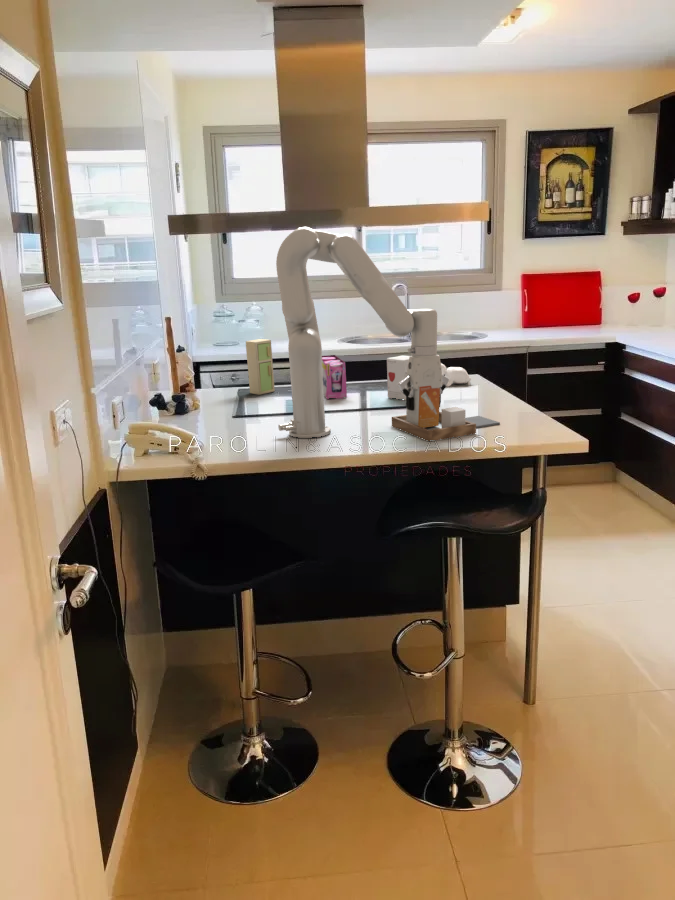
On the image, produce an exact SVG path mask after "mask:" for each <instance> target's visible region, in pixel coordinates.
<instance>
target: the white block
mask: <svg viewBox="0 0 675 900" xmlns="http://www.w3.org/2000/svg"><path fill="white" fill-rule="evenodd" d="M441 412H442V423H441V428H447V427H453V426H459V425H465V418H466V409H465V408H464V409H463V408H460V407H457V406H455V407H454V406H453V407H446V408H441Z"/></svg>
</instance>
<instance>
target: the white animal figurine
mask: <svg viewBox="0 0 675 900" xmlns="http://www.w3.org/2000/svg"><path fill="white" fill-rule="evenodd" d="M441 369H442V375H443V376H445V377H446V378H448V379H449V381H448V383H447V385H446V387H450V386H451V385H452V384H456V385H461V384H466V383H468V384H467V385H468V386H470V383H471V381H472V378H471V377H470V375H469V374H468V372H467V370H466V369H465V368H463V367H460V366H450V367H447V366H446V365H445V364H443V363H442V362H441Z"/></svg>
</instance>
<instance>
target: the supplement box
mask: <svg viewBox="0 0 675 900" xmlns="http://www.w3.org/2000/svg"><path fill="white" fill-rule="evenodd" d="M410 356H411V355H398V356H392V357H391V356H390V357H387V358H386V371H387V372H386V373H387V374H386V375H387V376H386V378H387V379H386V380H387V381H386V382H387V398H388V397H389V398H388V399H392V398H396V399H395V400H398V399H404V400H406V396H405V395H404V394H403V393H402V392H401V389H400V388H399V386H398V383H400V382H401V381H402V380H403V379H405V378H406V377H407V368H408V362H409V357H410ZM405 388H406V389H407V384H406V385H405ZM404 400H403V401H404Z"/></svg>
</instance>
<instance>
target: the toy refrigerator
mask: <svg viewBox="0 0 675 900" xmlns="http://www.w3.org/2000/svg"><path fill="white" fill-rule="evenodd" d="M245 349H246V350H245V351H246V352H245V353H246V360H247V375H248V384H249V385H248V386H249V393H250V394H253V395H265V394H268V393H273V392H275V389H276V388H275V378H274V376H275V375H274V366H273V363H274V362H273V348H272V340H271V339H265V338H259V339H251V340H246V341H245Z"/></svg>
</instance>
